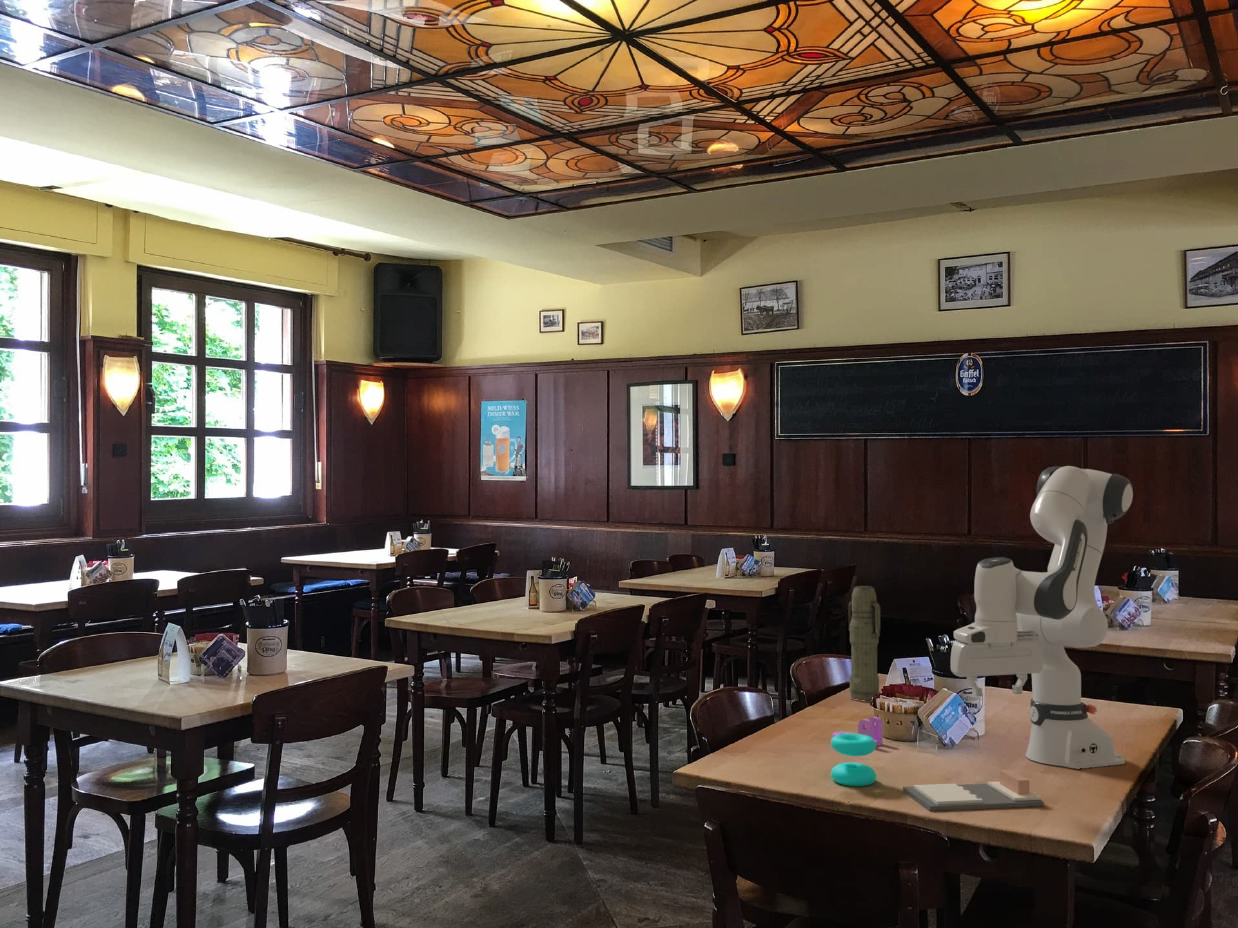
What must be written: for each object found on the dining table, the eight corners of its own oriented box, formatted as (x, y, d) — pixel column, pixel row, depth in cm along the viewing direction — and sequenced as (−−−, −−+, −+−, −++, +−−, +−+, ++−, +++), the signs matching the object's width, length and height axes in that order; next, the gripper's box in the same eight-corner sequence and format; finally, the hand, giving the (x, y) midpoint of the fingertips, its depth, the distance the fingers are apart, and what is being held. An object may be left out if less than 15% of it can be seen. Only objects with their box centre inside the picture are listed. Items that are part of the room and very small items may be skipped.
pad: (1010, 787, 237) (1010, 779, 237) (1043, 806, 223) (1043, 797, 223) (903, 791, 233) (903, 783, 233) (929, 810, 219) (929, 802, 219)
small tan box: (1012, 783, 236) (1012, 767, 236) (1041, 799, 224) (1041, 782, 224) (987, 784, 235) (987, 767, 235) (1014, 800, 223) (1014, 783, 223)
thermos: (856, 694, 339) (856, 584, 340) (888, 699, 331) (888, 586, 331) (839, 697, 333) (839, 585, 334) (871, 703, 325) (871, 588, 325)
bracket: (882, 744, 275) (882, 717, 275) (870, 748, 271) (870, 720, 272) (840, 735, 285) (840, 709, 285) (828, 739, 281) (828, 712, 281)
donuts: (822, 737, 241) (845, 729, 248) (822, 781, 241) (845, 772, 248) (862, 744, 234) (884, 736, 242) (862, 790, 234) (884, 780, 242)
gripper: (1032, 627, 239) (1033, 689, 239) (946, 631, 236) (947, 694, 236) (1047, 632, 233) (1049, 695, 233) (959, 636, 230) (961, 700, 230)
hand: (997, 694), depth 235 cm, fingers open, 8 cm apart
